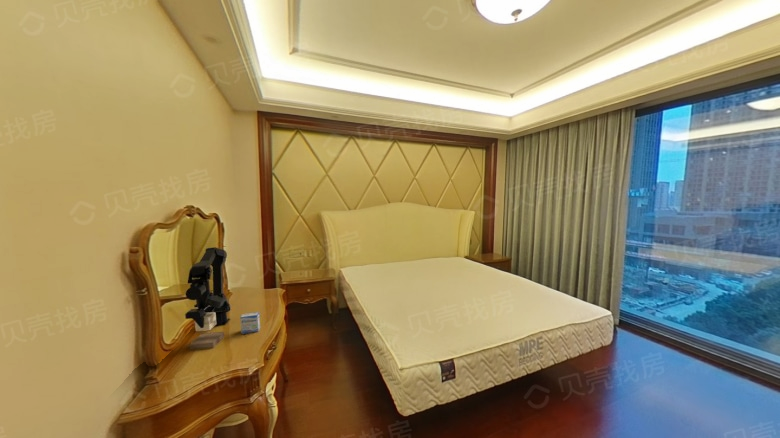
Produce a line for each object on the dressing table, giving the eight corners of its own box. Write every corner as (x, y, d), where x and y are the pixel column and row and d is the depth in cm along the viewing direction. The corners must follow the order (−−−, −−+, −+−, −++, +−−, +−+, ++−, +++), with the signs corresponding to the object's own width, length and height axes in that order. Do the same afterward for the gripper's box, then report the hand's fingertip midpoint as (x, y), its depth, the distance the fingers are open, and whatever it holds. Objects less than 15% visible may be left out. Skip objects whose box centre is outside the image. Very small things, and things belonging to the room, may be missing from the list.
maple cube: (203, 325, 132) (202, 312, 131) (216, 324, 132) (215, 312, 132) (195, 331, 126) (194, 318, 125) (209, 330, 126) (208, 317, 126)
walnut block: (202, 339, 134) (202, 333, 134) (224, 337, 135) (223, 331, 135) (190, 351, 124) (189, 344, 124) (213, 348, 125) (213, 342, 125)
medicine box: (241, 334, 137) (239, 317, 136) (243, 330, 141) (242, 313, 140) (258, 331, 139) (257, 315, 138) (260, 327, 143) (259, 311, 143)
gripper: (210, 298, 119) (213, 333, 120) (230, 284, 137) (233, 314, 139) (182, 300, 118) (186, 335, 119) (206, 285, 136) (210, 316, 138)
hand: (206, 324), depth 129 cm, fingers closed on maple cube, 6 cm apart
